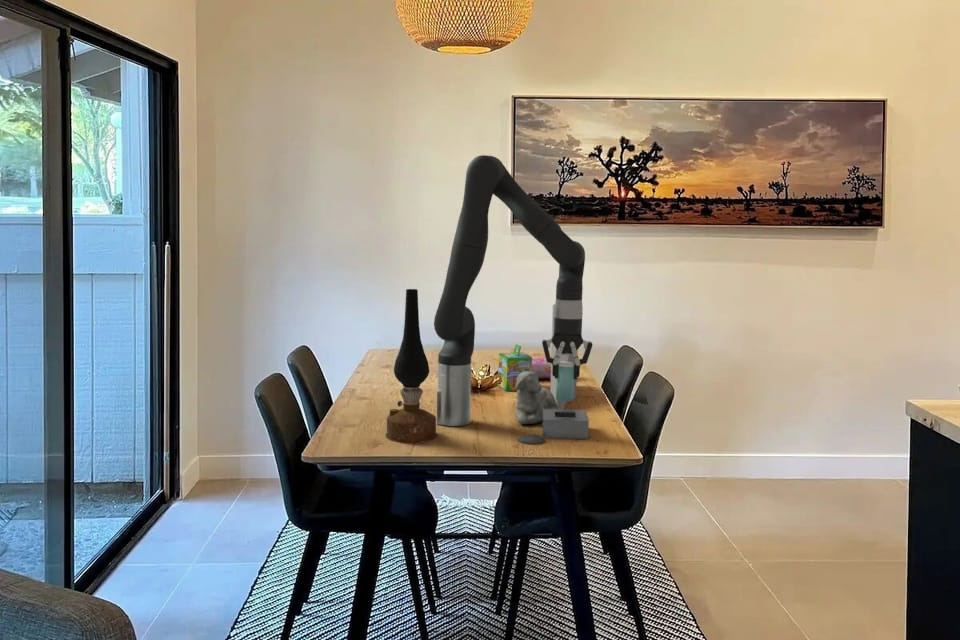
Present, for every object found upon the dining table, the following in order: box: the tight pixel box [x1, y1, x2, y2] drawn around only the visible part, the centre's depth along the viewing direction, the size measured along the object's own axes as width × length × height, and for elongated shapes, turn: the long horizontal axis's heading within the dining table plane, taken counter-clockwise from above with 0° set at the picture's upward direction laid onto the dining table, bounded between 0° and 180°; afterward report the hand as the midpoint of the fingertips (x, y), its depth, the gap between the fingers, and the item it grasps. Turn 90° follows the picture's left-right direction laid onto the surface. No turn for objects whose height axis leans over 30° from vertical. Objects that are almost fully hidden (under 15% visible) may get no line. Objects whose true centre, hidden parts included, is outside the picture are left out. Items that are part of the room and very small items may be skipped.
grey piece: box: [549, 304, 579, 409], centre depth 272 cm, size 36×8×30 cm, turn 171°
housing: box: [541, 408, 590, 440], centre depth 231 cm, size 12×12×5 cm
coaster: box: [517, 434, 546, 445], centre depth 223 cm, size 7×7×1 cm
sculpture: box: [515, 371, 558, 425], centre depth 246 cm, size 11×21×15 cm, turn 167°
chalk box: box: [497, 344, 533, 392], centre depth 286 cm, size 9×9×15 cm
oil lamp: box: [385, 288, 438, 444], centre depth 224 cm, size 14×15×40 cm
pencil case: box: [531, 356, 551, 380], centre depth 301 cm, size 21×9×9 cm, turn 105°
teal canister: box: [556, 362, 575, 402], centre depth 230 cm, size 5×5×10 cm
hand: (565, 378), depth 230 cm, fingers closed on teal canister, 4 cm apart
